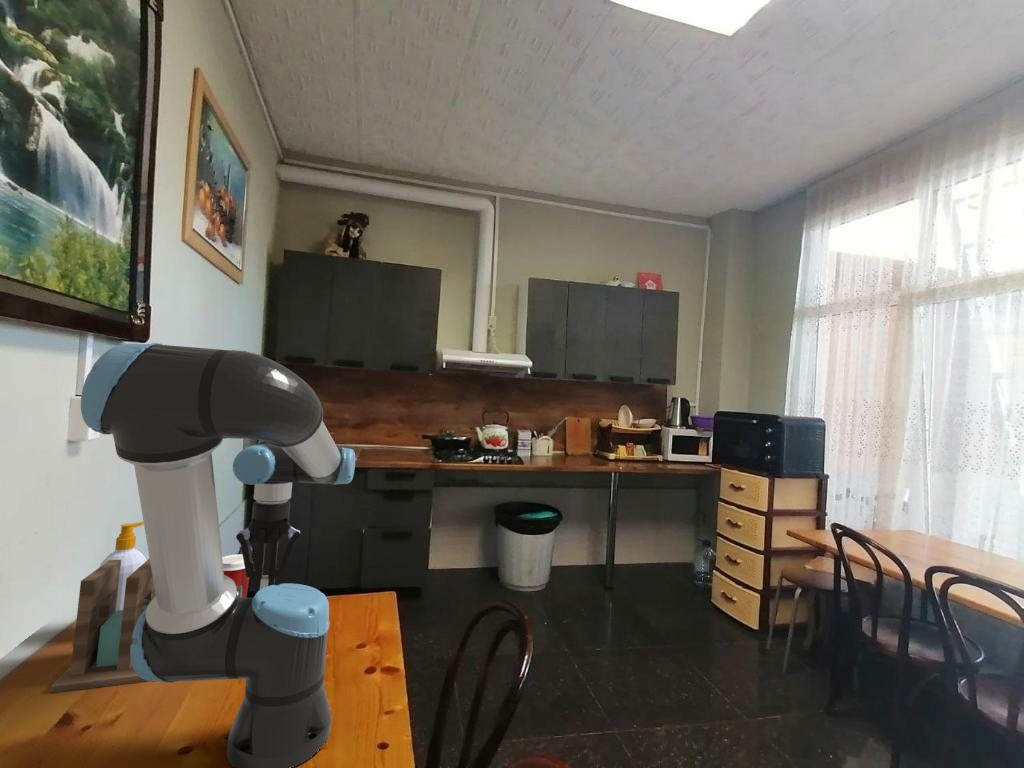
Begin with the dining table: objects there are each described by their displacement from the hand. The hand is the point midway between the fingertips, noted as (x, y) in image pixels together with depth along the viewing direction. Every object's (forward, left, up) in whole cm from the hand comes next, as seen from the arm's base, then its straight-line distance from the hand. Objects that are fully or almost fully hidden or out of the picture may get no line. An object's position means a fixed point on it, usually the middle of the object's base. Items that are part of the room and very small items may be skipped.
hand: (262, 607), depth 103 cm
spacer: (0, +26, -7) cm, 27 cm away
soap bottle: (+15, +31, -9) cm, 35 cm away
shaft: (0, +14, -1) cm, 14 cm away
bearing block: (0, +24, -8) cm, 25 cm away
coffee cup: (+14, +9, -9) cm, 19 cm away
